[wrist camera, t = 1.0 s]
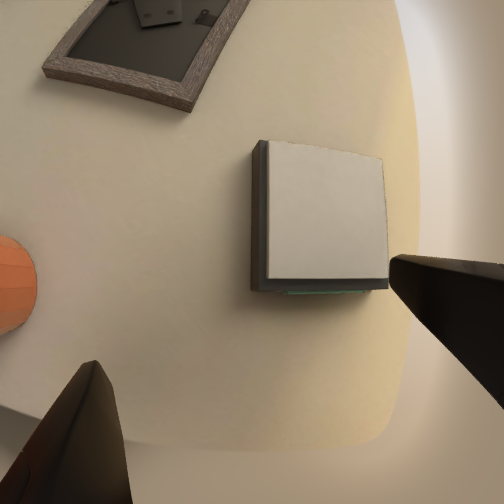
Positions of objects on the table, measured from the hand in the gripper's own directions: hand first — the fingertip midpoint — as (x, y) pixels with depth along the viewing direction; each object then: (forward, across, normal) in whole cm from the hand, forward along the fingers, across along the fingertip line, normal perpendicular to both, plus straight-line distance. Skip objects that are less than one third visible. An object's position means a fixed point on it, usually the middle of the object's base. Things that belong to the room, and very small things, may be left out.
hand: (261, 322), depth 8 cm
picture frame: (+22, -2, -16) cm, 28 cm away
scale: (+13, -9, +3) cm, 16 cm away
